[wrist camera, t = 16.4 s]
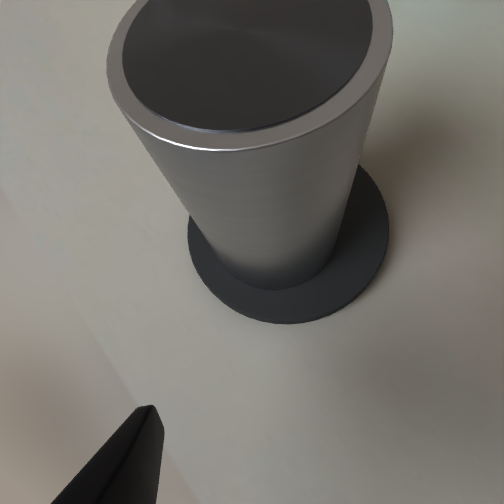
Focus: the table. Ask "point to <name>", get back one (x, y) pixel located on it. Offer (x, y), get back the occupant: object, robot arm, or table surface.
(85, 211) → the table surface
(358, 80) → the cup
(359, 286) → the coaster
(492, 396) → the table surface
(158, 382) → the table surface
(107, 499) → the robot arm
